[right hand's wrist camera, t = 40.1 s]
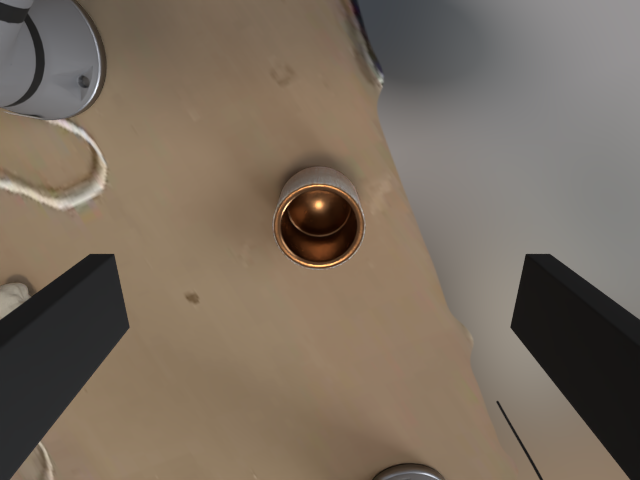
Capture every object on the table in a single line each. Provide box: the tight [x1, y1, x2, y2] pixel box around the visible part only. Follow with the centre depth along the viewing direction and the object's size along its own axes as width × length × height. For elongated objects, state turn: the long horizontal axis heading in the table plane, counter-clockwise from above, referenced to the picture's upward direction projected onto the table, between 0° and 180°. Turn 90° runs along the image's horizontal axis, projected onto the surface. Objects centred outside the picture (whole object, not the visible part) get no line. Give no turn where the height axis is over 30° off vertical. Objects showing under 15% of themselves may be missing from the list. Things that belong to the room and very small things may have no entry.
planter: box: [273, 166, 365, 270], centre depth 49 cm, size 11×11×10 cm
